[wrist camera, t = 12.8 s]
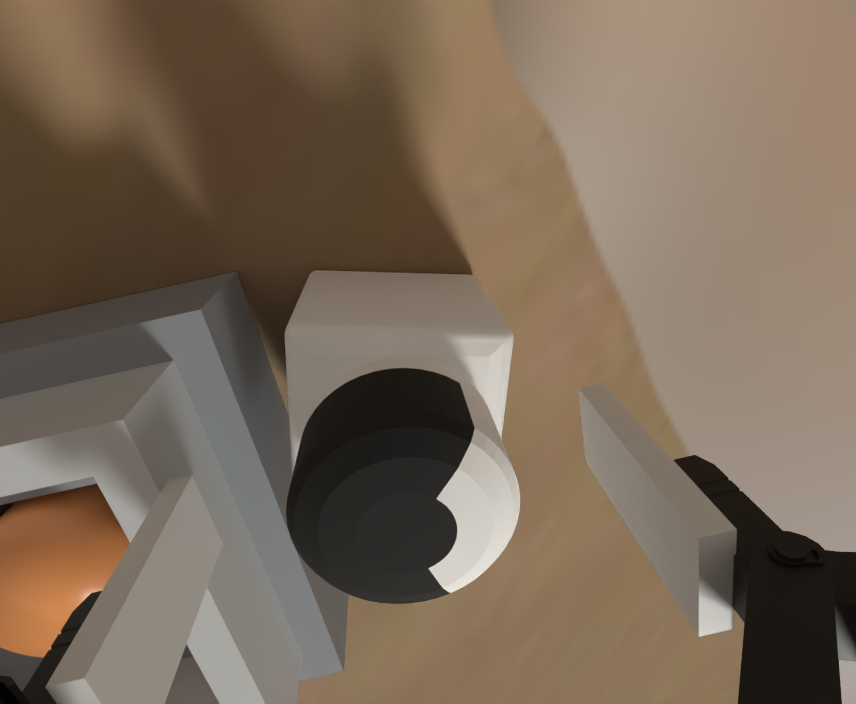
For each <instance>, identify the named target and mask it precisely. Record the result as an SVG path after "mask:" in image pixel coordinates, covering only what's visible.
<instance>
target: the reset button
mask: <svg viewBox="0 0 856 704" xmlns="http://www.w3.org/2000/svg"><path fill="white" fill-rule="evenodd" d="M129 545H130V542H129V540H128V538H127V536H126V534H125V533H124V531H123V529H122V527H121V525H120V524H119V522H118V520H117V518H116V516H115V515H114V513H113V511H112V509H111V507H110V506H109V504H108V502H107V500H106V498H105V497H104V495H103V493H102V491H101V490H100V488H99V486H98V484H97V483H96V484H92V485H87V486H83V487H78V488H74V489H70V490H65V491H61V492H56V493H52V494H47V495H43V496H38V497H34V498H29V499H25V500H20V501H16V502H14V503H13V504H12V506H11V507H10V508H9V509H8V510H7V511H6V512H5V513H4V514H3V515H2V516H1V517H0V647H1V648H3V649H6V650H9V651H12V652H15V653H19V654H23V655H28V656H33V657H43V658H44V657H45V655H46V653H47V652H48V650H51V645H52V644H53V642H54V641H55V639H56V637H57V636H58V634H61V629H62V628H63V626H64V625H65V623H66V622H67V620H68V618H69V617H70V615H71V614H72V612H73V611H74V610H75V609H76V608H77V607H78V606H79V605H80V604H81V603H82V602H83V601H84V600H85V599H86V598H87V597H88V596H89V595H90V594H91V593H93V592H98V591H102V590H103V589H104V587H105V585H106V584H107V582H108V580H109V578H110V577H111V575H112V573H113V572H114V570H115V568H116V567H117V565H118V563H119V562H120V560H121V558H122V556H123V555H124V553H125V551H126V550H127V548H128V546H129Z"/></svg>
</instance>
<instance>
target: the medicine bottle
mask: <svg viewBox="0 0 856 704" xmlns="http://www.w3.org/2000/svg"><path fill="white" fill-rule="evenodd" d="M512 346H513V332H512V331H511V329H510V328H509V326H508V325H507V323H506V322H505V320H504V319H503V317H502V316H501V314H500V313H499V311H498V310H497V308H496V307H495V305H494V304H493V302H492V301H491V299H490V298H489V296H488V295H487V293H486V292H485V290H484V289H483V287H482V286H481V284H480V283H479V281H478V280H477V278H476V277H475V276H473V275H463V274H428V273H392V272H357V271H322V270H317V271H313V272H312V273H311V274H309V277H308V279H307V281H306V284H305V286H304V288H303V290H302V293H301V295H300V297H299V300H298V302H297V304H296V306H295V309H294V311H293V313H292V316H291V318H290V320H289V322H288V325H287V327H286V330H285V352H286V371H287V389H288V408H289V426H290V444H291V463H292V480H291V484H290V488H289V492H288V497H287V504H286V519H287V527H288V530H289V534H290V537H291V540H292V542H293V544H294V546H295V548H296V550H297V552H298V553H299V555H300V556H301V558H302V559H303V561H304V562H305V563H306V564H307V565H308V566H309V567H310V568H311V569H312V570H313V571H314V572H315V573H316V574H317V575H319V576H320V577H321V578H323V579H324V580H325V581H326V582H328V583H329V584H330V585H332V586H334V587H335V588H337V589H339V590H341V591H343V592H345V593H347V594H350V595H352V596H354V597H358V598H361V599H364V600H368V601H374V602H379V603H391V604H403V603H415V602H422V601H427V600H431V599H435V598H438V597H441V596H444V595H447V594H449V593H452V592H454V591H456V590H458V589H460V588H462V587H464V586H465V585H467V584H469V583H470V582H472V581H473V580H475V579H476V578H477V577H478V576H480V575H481V574H482V573H483V572H485V571H486V570H487V569H488V568H489V567H490V565H491V564H492V563H493V562H494V561H495V560H496V559H497V558H498V557H499V555H500V554H501V553H502V551H503V550H504V549H505V547H506V546H507V544H508V542H509V540H510V538H511V537H512V535H513V532H514V530H515V527H516V524H517V521H518V516H519V510H520V492H519V486H518V481H517V478H516V475H515V472H514V469H513V467H512V465H511V462H510V460H509V457H508V455H507V452H506V450H505V447H504V445H503V442H502V440H501V437H502V429H503V420H504V412H505V404H506V396H507V387H508V379H509V371H510V363H511V355H512Z"/></svg>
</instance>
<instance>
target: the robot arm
mask: <svg viewBox="0 0 856 704" xmlns="http://www.w3.org/2000/svg"><path fill="white" fill-rule="evenodd" d="M578 391H579V400H580V410H581V420H582V430H583V440H584V450H585V460H586V463H587V465H588V466H589V468H590V469H591V471H592V472H593V474H594V476H595V477H596V479H597V480H598V482H599V483H600V485H601V486H602V488H603V489H604V491H605V493H606V494H607V496H608V497H609V499H610V500H611V502H612V503H613V505H614V506H615V508H616V510H617V511H618V513H619V514H620V516H621V517H622V519H623V520H624V522H625V523H626V525H627V527H628V528H629V530H630V531H631V533H632V534H633V536H634V537H635V539H636V540H637V542H638V544H639V545H640V547H641V548H642V550H643V551H644V553H645V554H646V556H647V557H648V559H649V561H650V562H651V564H652V565H653V567H654V568H655V570H656V571H657V573H658V574H659V576H660V578H661V579H662V581H663V582H664V584H665V585H666V587H667V588H668V590H669V591H670V593H671V595H672V596H673V598H674V599H675V601H676V602H677V604H678V605H679V607H680V608H681V610H682V612H683V613H684V615H685V616H686V618H687V619H688V621H689V622H690V624H691V625H692V627H693V629H694V630H695V632H696V633H697V635H698V636H699V637H700V636H704V635H709V634H713V633H717V632H722V631H726V630H730V629H733V627H734V609H735V611H736V612H737V613H738V615H739V616H740V617H741V619H742V620H743V621H744V623H745V626H744V637H743V649H742V661H741V673H740V685H739V697H738V704H842V701H841V687H840V674H839V660H845V661H846V660H847V661H856V552H835V551H827V550H824V549H823V548H822V547H821V546H820V545H819V544H818V543H816V542H814V541H813V540H811V539H809V538H808V537H806V536H803V535H800V534H796V533H793V532H789V531H782V530H781V529H780V528H779V527H778V526H777V525H776V524H775V523H774V522H773V521H772V520H771V519H770V518H769V517H768V516H767V515H766V514H765V513H764V512H763V511H762V510H761V509H760V508H759V507H758V506H757V505H756V504H754V503H753V502H752V501H751V500H750V499H749V498H748V497H747V496H746V495H745V494H744V493H743V492H742V491H741V492H740V490H739V488H738V487H737V486H736V485H735V484H734V483H733V482H732V481H729V480H728V477H727V476H725V474H724V473H723V472H722V471H721V470H720V469H718V468H717V467H716V466H715V465H714V464H712V463H710V462H708V461H706V460H704V459H702V458H700V457H698V456H696V455H693V456H688V457H684V458H680V459H675V460H673V459H672V458H671V457H670V456H669V455H668V454H667V453H666V452H665V451H664V450H663V448H662V447H661V446H660V445H659V444H658V443H657V442H656V441H655V440H654V439H653V438H652V436H651V435H650V434H649V433H648V432H647V431H646V430H645V429H644V428H643V427H642V426H641V424H640V423H639V422H638V421H637V420H636V419H635V418H634V417H633V416H632V415H631V414H630V412H629V411H628V410H627V409H626V408H625V407H624V406H623V405H622V404H621V403H620V402H619V401H618V399H617V398H616V397H615V396H614V395H613V394H612V393H611V392H610V391H609V390H608V389H607V387H606V386H605V385H604V384H603V383H600V384H596V385H591V386H587V387H582V388H578ZM222 545H223V543H222V540H221V538H220V536H219V534H218V531H217V529H216V527H215V525H214V523H213V520H212V518H211V516H210V514H209V512H208V509H207V507H206V505H205V503H204V500H203V498H202V496H201V494H200V492H199V489H198V487H197V485H196V483H195V481H194V478H193V476H192V475H190V476H186V477H181V478H177V479H172V480H168V481H167V482H166V484H165V486H164V487H163V489H162V491H161V492H160V494H159V496H158V497H157V499H156V501H155V502H154V504H153V506H152V508H151V509H150V511H149V513H148V514H147V516H146V518H145V519H144V521H143V523H142V524H141V526H140V528H139V529H138V531H137V533H136V535H135V536H134V538H133V540H132V541H131V543H130V545H129V546H128V548H127V550H126V551H125V553H124V555H123V556H122V558H121V560H120V562H119V563H118V565H117V567H116V568H115V570H114V572H113V573H112V575H111V577H110V578H109V580H108V582H107V584H106V585H105V587H104V589H103V590H102V591H98V592H93V593H91V594H90V595H89V596H88V597H87V598H86V599H85V600H84V601H83V602H82V603H81V604H80V605H79V606H78V607H77V608H76V609H75V610H74V611H73V612H72V614H71V615H70V617H69V618H68V620H67V622H66V623H65V625H64V626H63V628H62V629H61V634H58V636H57V637H56V639H55V641H54V642H53V644H52V645H51V650H48V652H47V653H46V655H45V657H44V658H43V660H42V661H41V663H40V665H39V666H38V668H37V669H36V671H35V672H34V674H33V676H32V677H31V679H30V680H29V682H28V684H27V685H26V687H25V688H24V690H23V692H22V691H21V690H20V688H19V687H18V686H17V684H16V683H15V682H14V680H13V679H12V678H11V677H8V676H0V704H165V701H166V698H167V696H168V693H169V690H170V688H171V685H172V682H173V679H174V677H175V674H176V671H177V668H178V666H179V663H180V660H181V657H182V655H183V652H184V649H185V647H186V644H187V641H188V638H189V636H190V633H191V630H192V627H193V625H194V622H195V619H196V616H197V614H198V611H199V608H200V605H201V603H202V600H203V597H204V595H205V592H206V589H207V586H208V584H209V581H210V578H211V575H212V573H213V570H214V567H215V564H216V562H217V559H218V556H219V553H220V551H221V548H222Z"/></svg>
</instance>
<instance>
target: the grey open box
mask: <svg viewBox="0 0 856 704" xmlns="http://www.w3.org/2000/svg"><path fill="white" fill-rule="evenodd" d="M190 475H192V476H193V478H194V481H195V483H196V485H197V487H198V489H199V492H200V494H201V496H202V498H203V500H204V503H205V505H206V507H207V509H208V512H209V514H210V516H211V518H212V520H213V523H214V525H215V527H216V529H217V531H218V534H219V536H220V538H221V540H222V543H223V545H222V548H221V551H220V553H219V556H218V559H217V562H216V564H215V567H214V570H213V573H212V575H211V578H210V581H209V584H208V586H207V589H206V592H205V595H204V597H203V600H202V603H201V605H200V608H199V611H198V614H197V616H196V619H195V622H194V625H193V627H192V630H191V633H190V636H189V638H188V641H187V644H186V647H185V649H184V652H183V655H182V657H181V660H180V663H179V666H178V668H177V671H176V674H175V677H174V679H173V682H172V685H171V688H170V690H169V693H168V696H167V698H166V701H165V704H296V702H297V694H298V687H299V681H303V680H308V679H312V678H316V677H321V676H325V675H330V674H334V673H338V672H343V671H344V660H345V642H346V624H347V606H348V594H347V593H345V592H343V591H341V590H339V589H337V588H335V587H334V586H332V585H330V584H329V583H328V582H326V581H325V580H324V579H323V578H321V577H320V576H319V575H317V574H316V573H315V572H314V571H313V570H312V569H311V568H310V567H309V566H308V565H307V564H306V563H305V562H304V561H303V559H302V558H301V556H300V555H299V553H298V552H297V550H296V548H295V546H294V544H293V542H292V540H291V537H290V534H289V530H288V527H287V519H286V504H287V497H288V492H289V488H290V484H291V480H292V463H291V444H290V426H289V417H288V414H287V411H286V408H285V406H284V403H283V400H282V397H281V394H280V392H279V389H278V386H277V383H276V380H275V378H274V375H273V372H272V369H271V366H270V364H269V361H268V358H267V355H266V352H265V349H264V347H263V344H262V341H261V338H260V335H259V333H258V330H257V327H256V324H255V321H254V319H253V316H252V313H251V310H250V307H249V304H248V302H247V299H246V296H245V293H244V290H243V288H242V285H241V282H240V279H239V276H238V274H237V271H236V272H231V273H227V274H222V275H218V276H213V277H209V278H204V279H200V280H195V281H191V282H186V283H182V284H177V285H173V286H168V287H164V288H159V289H155V290H150V291H146V292H141V293H137V294H132V295H128V296H123V297H119V298H114V299H110V300H105V301H101V302H96V303H92V304H87V305H83V306H78V307H74V308H69V309H65V310H60V311H56V312H51V313H47V314H42V315H38V316H33V317H29V318H24V319H20V320H15V321H11V322H6V323H2V324H0V517H1V516H2V515H3V514H4V513H5V512H6V511H7V510H8V509H9V508H10V507H11V506H12V504H13V503H14V502H16V501H20V500H25V499H29V498H34V497H38V496H43V495H47V494H52V493H56V492H61V491H65V490H70V489H74V488H78V487H83V486H87V485H92V484H96V483H97V484H98V486H99V488H100V490H101V491H102V493H103V495H104V497H105V498H106V500H107V502H108V504H109V506H110V507H111V509H112V511H113V513H114V515H115V516H116V518H117V520H118V522H119V524H120V525H121V527H122V529H123V531H124V533H125V534H126V536H127V538H128V540H129V542H130V543H131V541H132V540H133V538H134V536H135V535H136V533H137V531H138V529H139V528H140V526H141V524H142V523H143V521H144V519H145V518H146V516H147V514H148V513H149V511H150V509H151V508H152V506H153V504H154V502H155V501H156V499H157V497H158V496H159V494H160V492H161V491H162V489H163V487H164V486H165V484H166V482H167V481H168V480H172V479H177V478H181V477H186V476H190ZM42 660H43V657H33V656H28V655H23V654H19V653H15V652H12V651H9V650H6V649H3V648H1V647H0V676H8V677H11V678H12V679H13V680H14V682H15V683H16V684H17V686H18V687H19V688H20V690H21V691H22V692H23V690H24V688H25V687H26V685H27V684H28V682H29V680H30V679H31V677H32V676H33V674H34V672H35V671H36V669H37V668H38V666H39V665H40V663H41V661H42Z"/></svg>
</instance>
